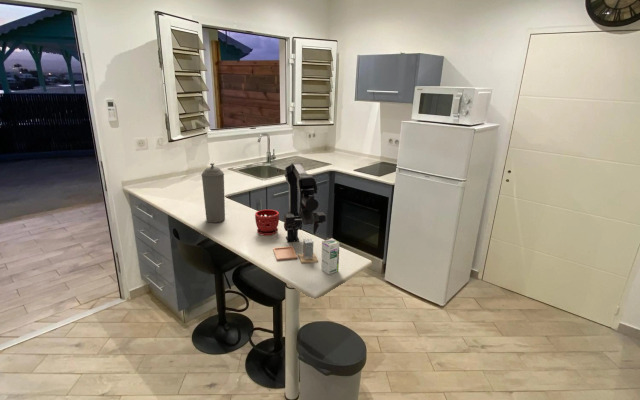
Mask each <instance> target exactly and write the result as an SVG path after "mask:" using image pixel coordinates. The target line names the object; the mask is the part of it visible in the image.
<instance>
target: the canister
mask: <svg viewBox="0 0 640 400" xmlns="http://www.w3.org/2000/svg"><path fill="white" fill-rule="evenodd" d="M209 165H210V166H209V167H205V169H204V170H203V172H202V173H201V179H202V180H201V181H202V182H201V183H202V192H203V200H204V201H203V202H204V210H205V211H204V212H205V219H206V221H207V222H208V223H214V224H216V223H220V222H223V221H225V220H226V208H225V207H226V206H225V204H226V203H225V202H226V201H225V173H224V171H222V169H221V168H219V167H217V166H215V162H211V163H209Z"/></svg>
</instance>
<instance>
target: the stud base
mask: <svg viewBox="0 0 640 400" xmlns="http://www.w3.org/2000/svg"><path fill="white" fill-rule="evenodd" d="M297 258H299V261H300V263H301V264H306V263H307V264H310V263H318V262H319V259H318V258H317V256H316V254H315V252H313V256H304V254H303V253H298V254H297Z"/></svg>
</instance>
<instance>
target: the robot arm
mask: <svg viewBox="0 0 640 400" xmlns="http://www.w3.org/2000/svg"><path fill="white" fill-rule="evenodd" d="M283 171H284V178H285V180H286V182H287V184H288V213H285V214H284V216H283V220H284V223H283V228H284V231H285V232H287V233H286V234H287V235H286V236H285V239H286V242H287V243H293V242H300V237H299V235H298V234H299V231H302V227H303V225H304V226H307V225H313V230H312V231H313V235H315V234H316V233H317V230H318V228H319V226H320V225H321V224H323V223H324V222H326V221H327V215H326V214H325V213H324V212H323V211H316V210H317V209H318V208H319V201H318V199H316V197H315V194H318V186H317V181H316V179H315V178H314V176H313V175H312V174H309V173H307V172H306V170H305V168H304V167H303V164H302V162H291V163H290V165H288V166H286V167H284V170H283ZM298 195H299V202H298ZM315 211H316V212H315Z"/></svg>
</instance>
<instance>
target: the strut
mask: <svg viewBox="0 0 640 400" xmlns="http://www.w3.org/2000/svg"><path fill="white" fill-rule="evenodd" d="M302 246H303V247H302V254H304V256H313V253H314V241H313V239H312V238H305V239H303V241H302Z"/></svg>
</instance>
